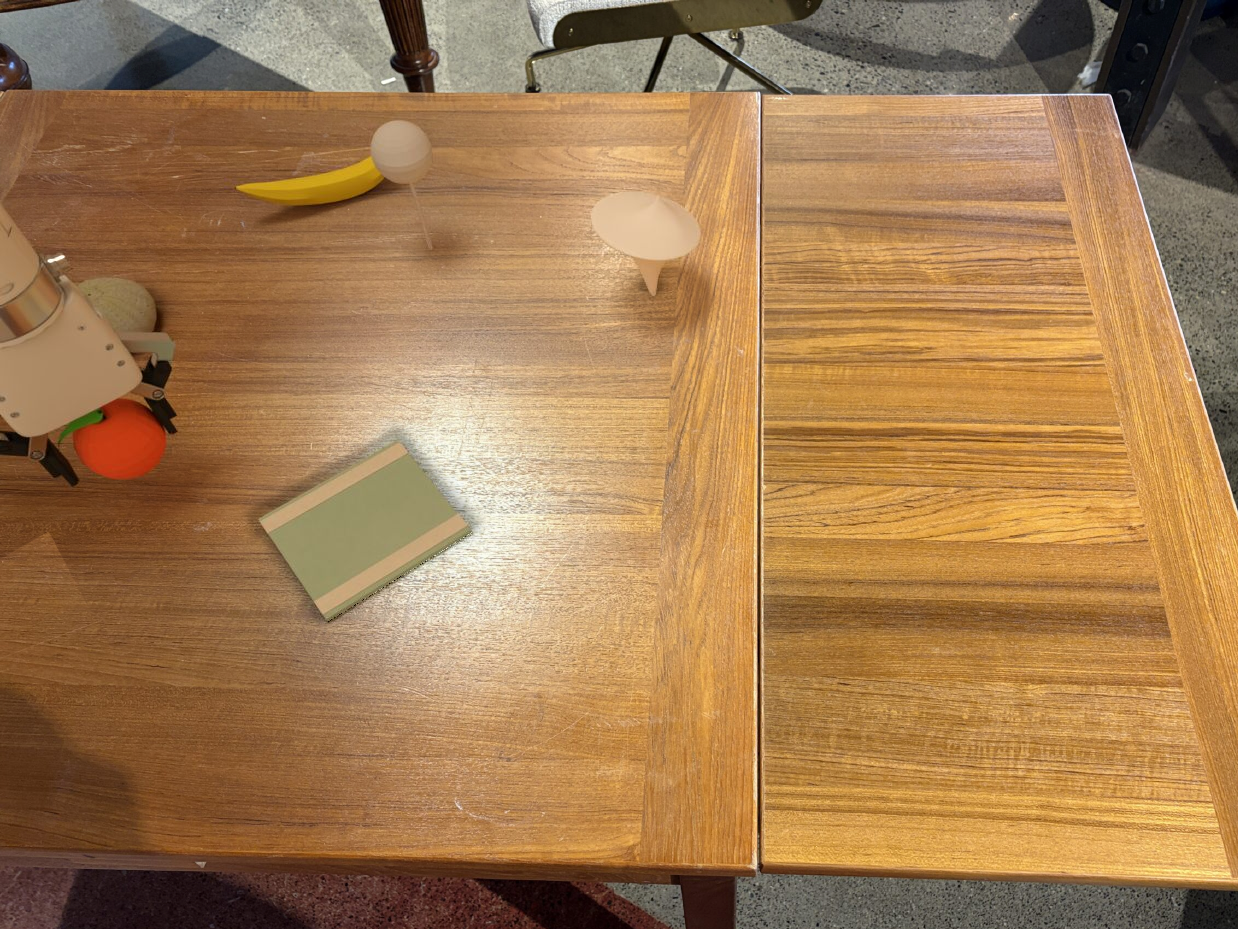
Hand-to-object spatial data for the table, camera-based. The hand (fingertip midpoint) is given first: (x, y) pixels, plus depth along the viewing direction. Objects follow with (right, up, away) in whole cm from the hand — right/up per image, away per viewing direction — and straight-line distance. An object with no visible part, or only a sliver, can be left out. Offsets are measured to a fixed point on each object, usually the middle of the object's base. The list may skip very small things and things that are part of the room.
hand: (119, 448), depth 87 cm
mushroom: (+45, +17, +18) cm, 51 cm away
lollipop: (+21, +23, +23) cm, 38 cm away
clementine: (0, -1, +2) cm, 3 cm away
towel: (+20, -7, +2) cm, 21 cm away
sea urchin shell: (-10, +13, +17) cm, 23 cm away
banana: (+9, +30, +28) cm, 42 cm away
